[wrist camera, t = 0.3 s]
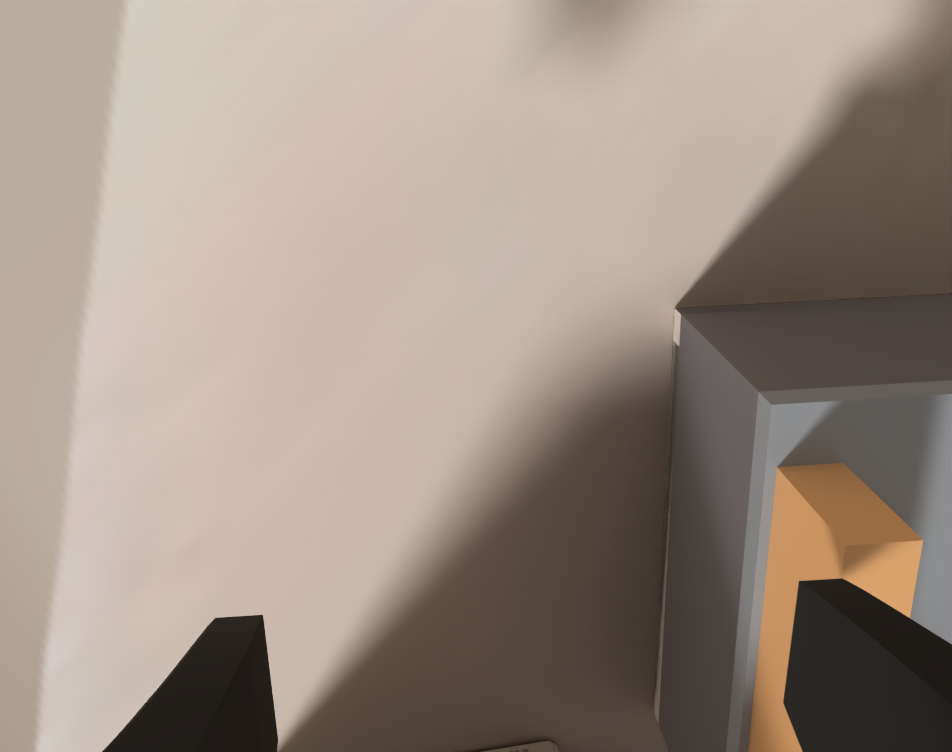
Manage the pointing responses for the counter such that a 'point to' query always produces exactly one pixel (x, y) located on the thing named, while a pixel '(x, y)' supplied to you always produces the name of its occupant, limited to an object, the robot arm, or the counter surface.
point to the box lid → (839, 526)
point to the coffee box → (530, 748)
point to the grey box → (730, 464)
